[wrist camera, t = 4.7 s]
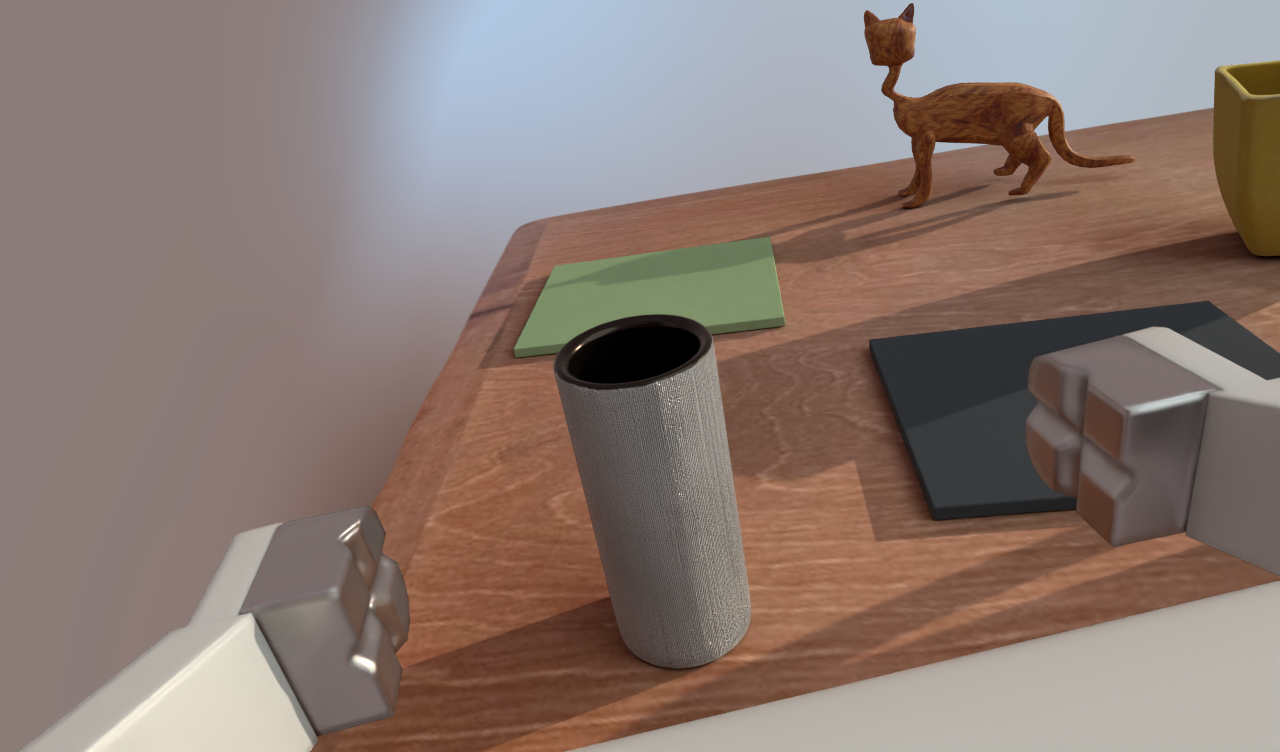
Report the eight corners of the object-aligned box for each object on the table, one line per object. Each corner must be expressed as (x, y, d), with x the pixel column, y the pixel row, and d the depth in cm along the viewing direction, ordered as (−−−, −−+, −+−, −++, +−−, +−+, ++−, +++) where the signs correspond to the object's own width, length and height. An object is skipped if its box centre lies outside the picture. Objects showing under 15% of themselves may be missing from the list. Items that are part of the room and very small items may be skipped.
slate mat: (933, 520, 29) (933, 507, 29) (869, 349, 42) (868, 339, 41) (1430, 481, 27) (1435, 466, 27) (1206, 311, 39) (1208, 300, 39)
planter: (757, 665, 25) (715, 374, 20) (614, 677, 26) (540, 397, 21) (747, 565, 29) (710, 303, 24) (623, 577, 30) (563, 324, 25)
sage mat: (515, 358, 48) (512, 349, 48) (556, 273, 60) (554, 265, 60) (785, 326, 46) (784, 316, 45) (770, 244, 58) (770, 236, 58)
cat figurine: (1118, 164, 60) (1138, -39, 54) (1149, 189, 55) (1176, -34, 48) (868, 192, 65) (861, 7, 59) (874, 218, 59) (866, 17, 53)
